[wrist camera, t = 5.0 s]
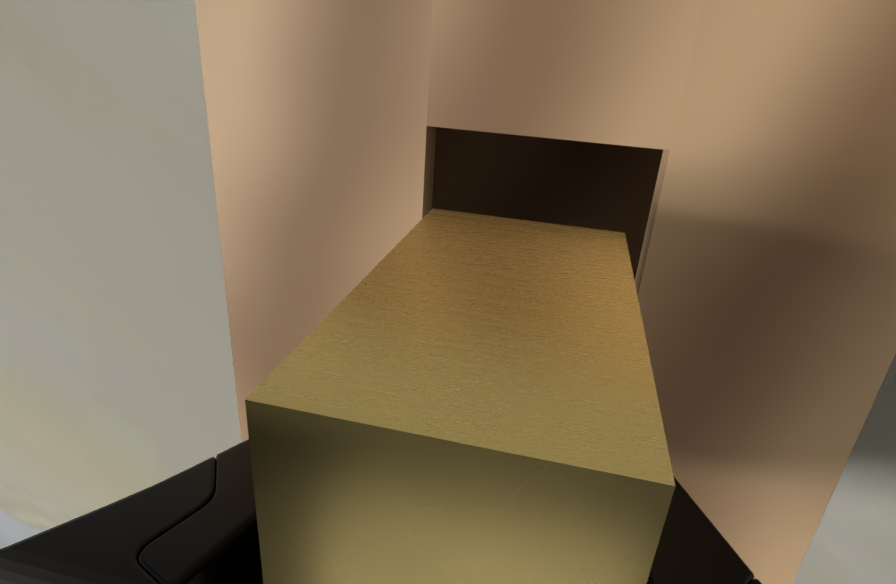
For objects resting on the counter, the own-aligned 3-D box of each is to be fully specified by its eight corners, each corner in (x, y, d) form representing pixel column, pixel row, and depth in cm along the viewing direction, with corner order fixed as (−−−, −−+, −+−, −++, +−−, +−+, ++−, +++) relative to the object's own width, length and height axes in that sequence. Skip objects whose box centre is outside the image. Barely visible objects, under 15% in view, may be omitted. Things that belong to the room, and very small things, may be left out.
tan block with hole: (856, 5, 14) (1069, -30, 8) (714, 446, 20) (771, 628, 14) (337, -23, 17) (187, -65, 10) (343, 377, 22) (248, 504, 16)
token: (625, 232, 8) (675, 484, 4) (565, 527, 11) (546, 917, 6) (432, 208, 9) (244, 400, 4) (417, 493, 11) (287, 827, 7)
